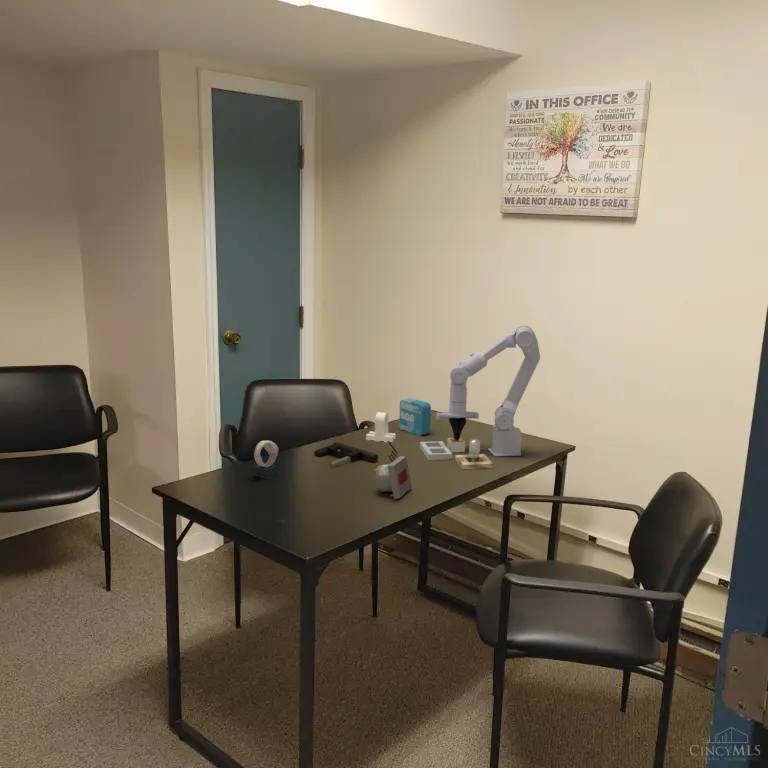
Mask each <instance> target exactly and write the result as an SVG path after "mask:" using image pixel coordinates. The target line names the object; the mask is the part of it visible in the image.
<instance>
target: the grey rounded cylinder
mask: <svg viewBox="0 0 768 768" xmlns="http://www.w3.org/2000/svg"><path fill="white" fill-rule="evenodd" d="M468 443H469V444H468V445H469V446H468V455H469V461H468V462H479V457H480V454H481V453H480V452H481V440H480V439H478V438H470V439H469V442H468Z"/></svg>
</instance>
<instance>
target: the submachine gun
mask: <svg viewBox="0 0 768 768" xmlns="http://www.w3.org/2000/svg"><path fill="white" fill-rule="evenodd" d="M313 455H314V457H317V456H318V457H319V458H322V457H325V456H328V455H329V456H330V457H331V456H332V457H335V458H338V459H335V460H333V461H330V462H329V467H330V468H336V467H337V468H338V467H340V466H343V465H345V464H348V463H355V462H357V461H361V460H363V461H364V460H365V461H367V462H370V463H377V462H378V460H379V455H378V454H376V453H375V452H371V451H368V450H365V449H362V448H359V447H355V446H351V445H348V444H345V443H342V442H338V441H335V442H333V443H332V444H330V445H327V446H325V447H322V448H319V449H316V450H314V452H313Z"/></svg>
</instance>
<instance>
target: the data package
mask: <svg viewBox="0 0 768 768" xmlns="http://www.w3.org/2000/svg"><path fill="white" fill-rule="evenodd" d="M431 412H432V406H431V404H430V402H428V401H423V400H419V399H415V398H410V397H409V398H405V399H401V400H400V401H399V416H398V417H399V418H398V419H399V420H398V421H399V422H398V424H399V426H398V427H399V430H400V431H402V430H405V431H408V432H407V433H409V432H410V433H409V434H412V433H414V434H413V435H415V434H416V435H415V436H418V435H420V436H419V437H421V436H425V435H427V434H428V435H429V434H430V432H431V415H432V414H431ZM405 431H404V432H405Z"/></svg>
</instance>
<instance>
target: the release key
mask: <svg viewBox="0 0 768 768" xmlns="http://www.w3.org/2000/svg"><path fill="white" fill-rule="evenodd" d="M450 438H451V441H452V442H462V440H461V439H460V438H461V437H460V438H459V440H455V439H454V437H450Z"/></svg>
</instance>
